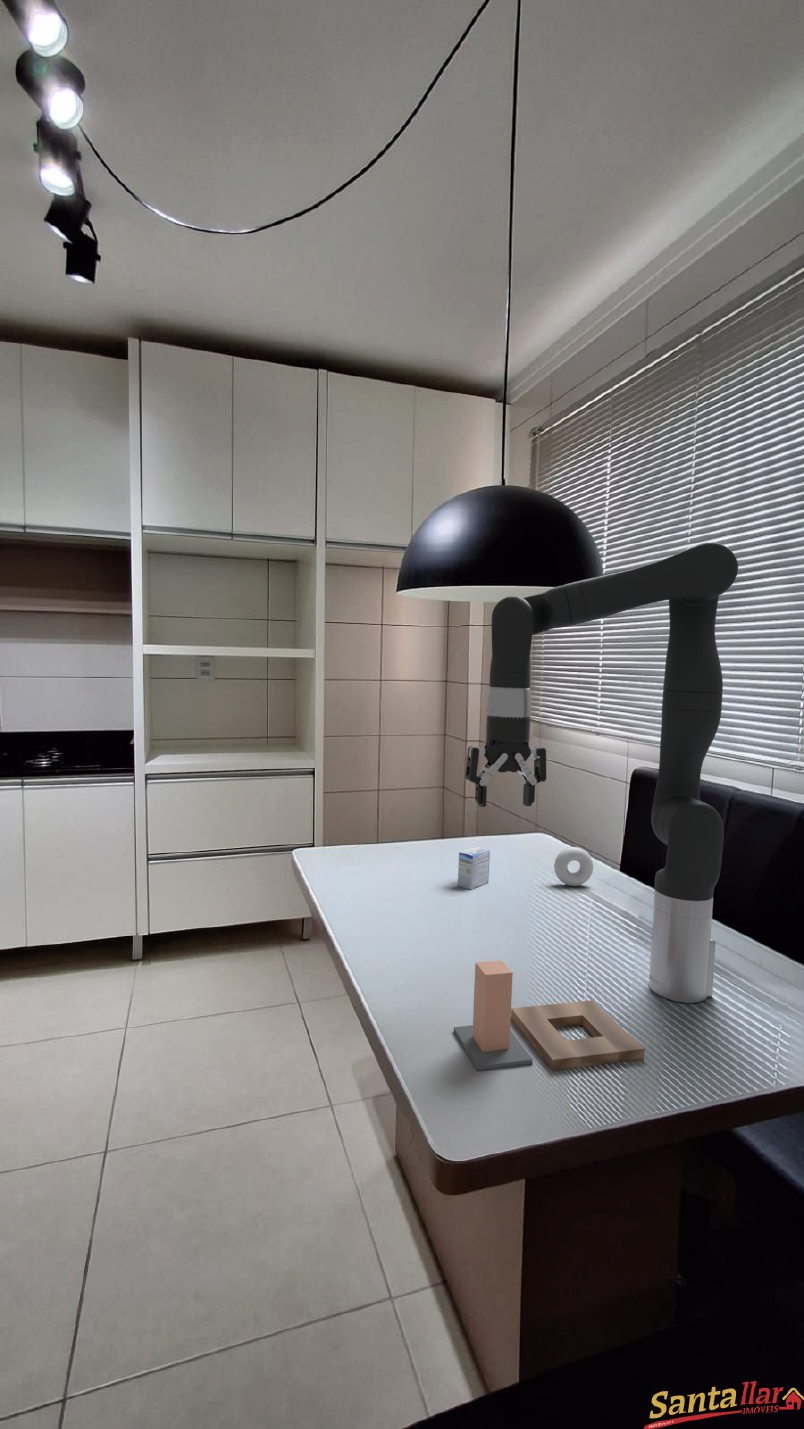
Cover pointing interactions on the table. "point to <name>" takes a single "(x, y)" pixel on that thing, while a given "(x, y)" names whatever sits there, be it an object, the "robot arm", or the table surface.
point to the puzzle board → (562, 1054)
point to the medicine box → (473, 867)
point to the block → (492, 1005)
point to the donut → (568, 856)
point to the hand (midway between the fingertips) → (504, 805)
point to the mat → (492, 1058)
